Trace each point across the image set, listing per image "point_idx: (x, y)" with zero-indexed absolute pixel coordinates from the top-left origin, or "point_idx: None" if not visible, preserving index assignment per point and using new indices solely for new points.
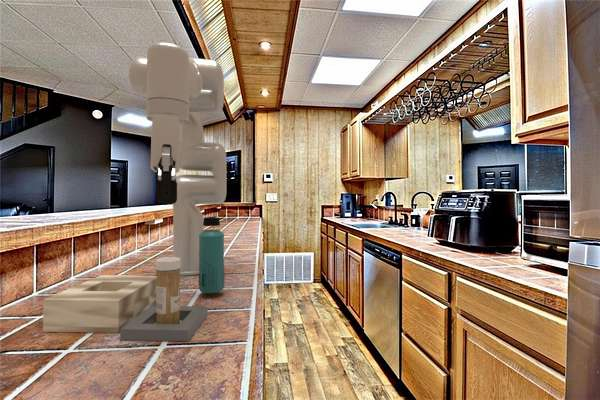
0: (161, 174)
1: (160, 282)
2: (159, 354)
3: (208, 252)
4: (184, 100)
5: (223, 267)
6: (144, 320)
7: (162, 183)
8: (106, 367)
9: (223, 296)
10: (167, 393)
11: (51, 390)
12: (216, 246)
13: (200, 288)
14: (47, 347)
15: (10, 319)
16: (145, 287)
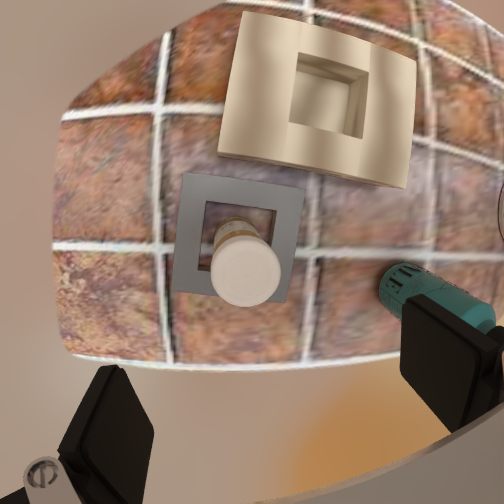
0: (15, 493)
1: (216, 247)
2: (134, 251)
3: None
4: None
5: None
6: (221, 200)
7: (62, 461)
8: (103, 190)
9: (380, 306)
10: (55, 284)
11: (62, 152)
12: None
13: (392, 269)
14: (175, 72)
15: None
16: (335, 172)
